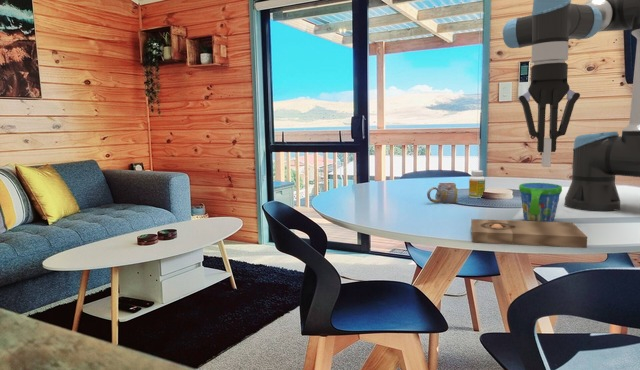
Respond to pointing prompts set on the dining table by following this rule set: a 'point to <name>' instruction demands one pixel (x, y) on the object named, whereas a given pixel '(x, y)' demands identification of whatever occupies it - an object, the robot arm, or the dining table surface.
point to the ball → (497, 226)
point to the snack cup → (539, 201)
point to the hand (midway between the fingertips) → (546, 166)
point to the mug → (444, 193)
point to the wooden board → (528, 233)
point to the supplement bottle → (476, 184)
